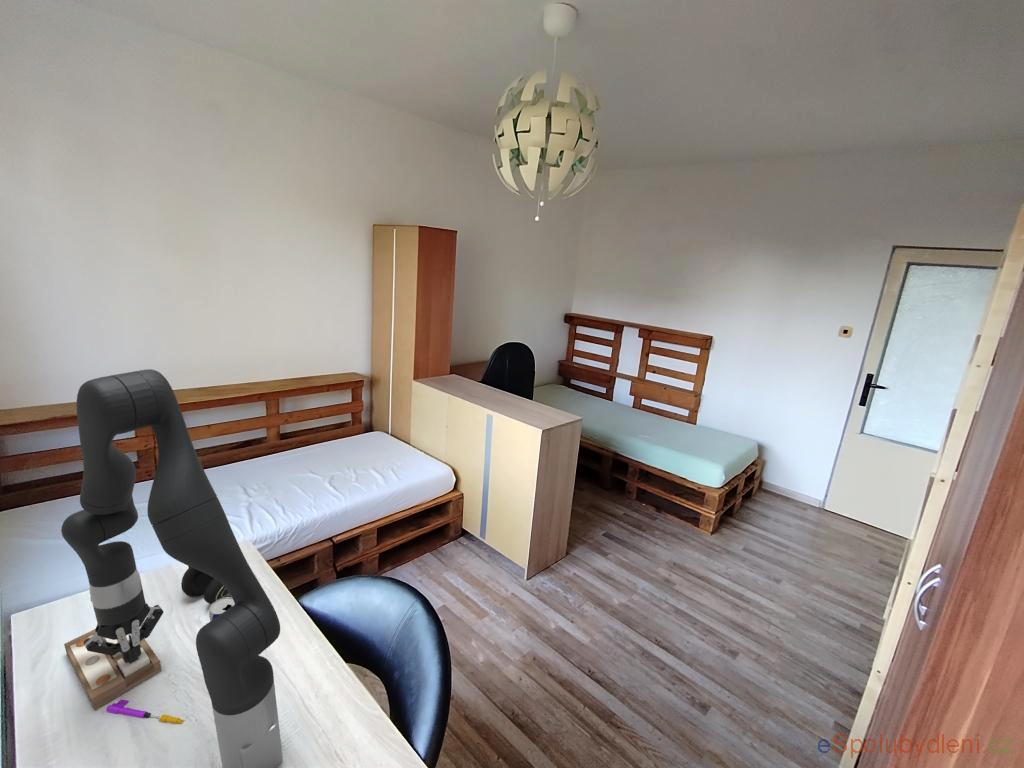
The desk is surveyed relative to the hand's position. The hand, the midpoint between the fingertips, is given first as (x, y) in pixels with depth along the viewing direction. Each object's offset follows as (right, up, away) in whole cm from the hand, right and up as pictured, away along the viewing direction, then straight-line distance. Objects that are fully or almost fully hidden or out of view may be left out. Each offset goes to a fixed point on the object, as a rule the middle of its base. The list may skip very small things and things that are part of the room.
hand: (132, 659), depth 94 cm
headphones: (+1, +2, +23) cm, 23 cm away
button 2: (0, -3, +1) cm, 3 cm away
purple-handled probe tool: (+8, -7, -6) cm, 12 cm away
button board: (-7, -3, +3) cm, 8 cm away
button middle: (-6, 0, +4) cm, 7 cm away
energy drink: (+15, -3, +9) cm, 17 cm away
